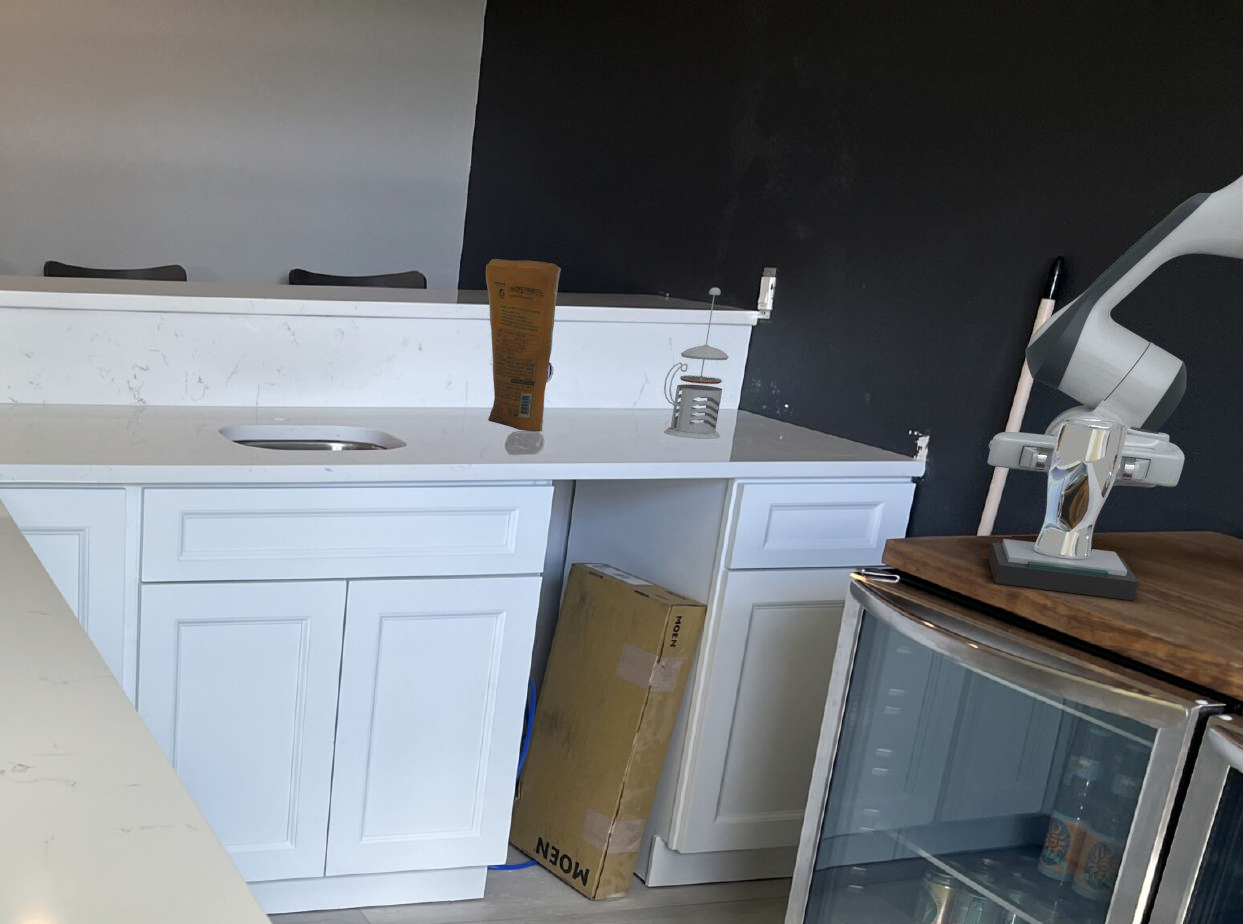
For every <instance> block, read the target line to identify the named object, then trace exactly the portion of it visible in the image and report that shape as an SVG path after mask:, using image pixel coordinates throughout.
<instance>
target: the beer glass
mask: <svg viewBox="0 0 1243 924" xmlns="http://www.w3.org/2000/svg"><path fill="white" fill-rule="evenodd" d="M1127 429H1128V426H1127V425H1125V424H1121V423H1117V422H1111V421H1104V420H1095V419H1082V418H1066V419H1063V421H1062V425H1061V428H1060V431H1059V434H1058V436H1057V439H1056V442H1055V445H1054V449H1053V453H1052V456H1051V461H1050V466H1049V473H1048V475H1047V482H1046V483H1047V485H1046V501H1045V512H1044V518H1043V521H1042V526H1041V528H1040V531H1039V533H1038V535H1037V537H1036V539H1035V541H1034V542H1035V544H1034V546H1033V550H1034V551H1035V552H1037V553H1040V554H1043V555H1047V556H1051V557H1057V558H1064V559H1078V560H1080V559H1089V558H1091V556H1092V549H1093V539H1094V532H1095V528H1096V525H1097V522H1098V520H1099V517H1100V514H1101V513H1102V510H1103V508H1104V506H1105V503H1106V502H1107V499H1108V498H1109V496H1110V493H1111V491H1112V488H1113V487H1114V486H1113V484H1114V482H1115V479H1116V477H1117V474H1118V471H1119V467H1120V464H1121V460H1122V456H1123V451H1124V445H1125V440H1126V434H1127Z"/></svg>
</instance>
